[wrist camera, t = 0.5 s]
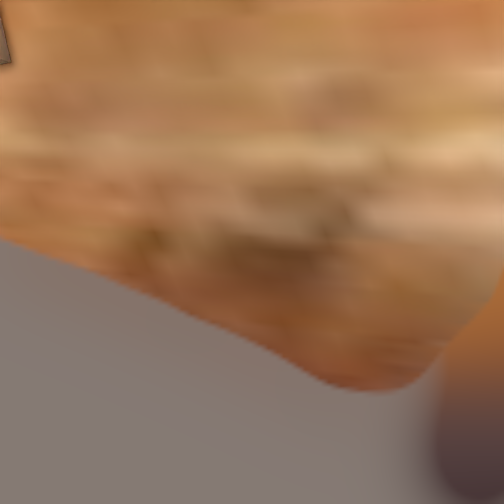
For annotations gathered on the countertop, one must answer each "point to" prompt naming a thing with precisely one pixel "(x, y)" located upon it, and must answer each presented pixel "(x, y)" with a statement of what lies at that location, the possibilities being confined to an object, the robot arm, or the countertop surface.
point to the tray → (3, 47)
